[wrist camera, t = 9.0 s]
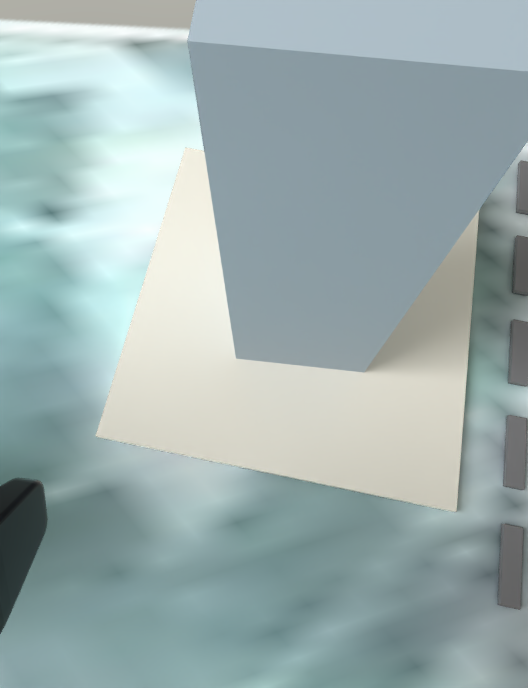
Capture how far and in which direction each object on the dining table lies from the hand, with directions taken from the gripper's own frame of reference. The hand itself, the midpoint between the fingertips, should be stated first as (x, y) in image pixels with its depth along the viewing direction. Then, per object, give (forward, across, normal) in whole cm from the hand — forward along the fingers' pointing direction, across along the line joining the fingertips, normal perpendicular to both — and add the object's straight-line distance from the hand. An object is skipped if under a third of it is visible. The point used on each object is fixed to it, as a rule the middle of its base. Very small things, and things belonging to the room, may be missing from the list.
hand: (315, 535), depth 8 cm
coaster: (+12, 0, +1) cm, 12 cm away
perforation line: (+11, -8, +1) cm, 14 cm away
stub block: (+11, 0, 0) cm, 11 cm away
